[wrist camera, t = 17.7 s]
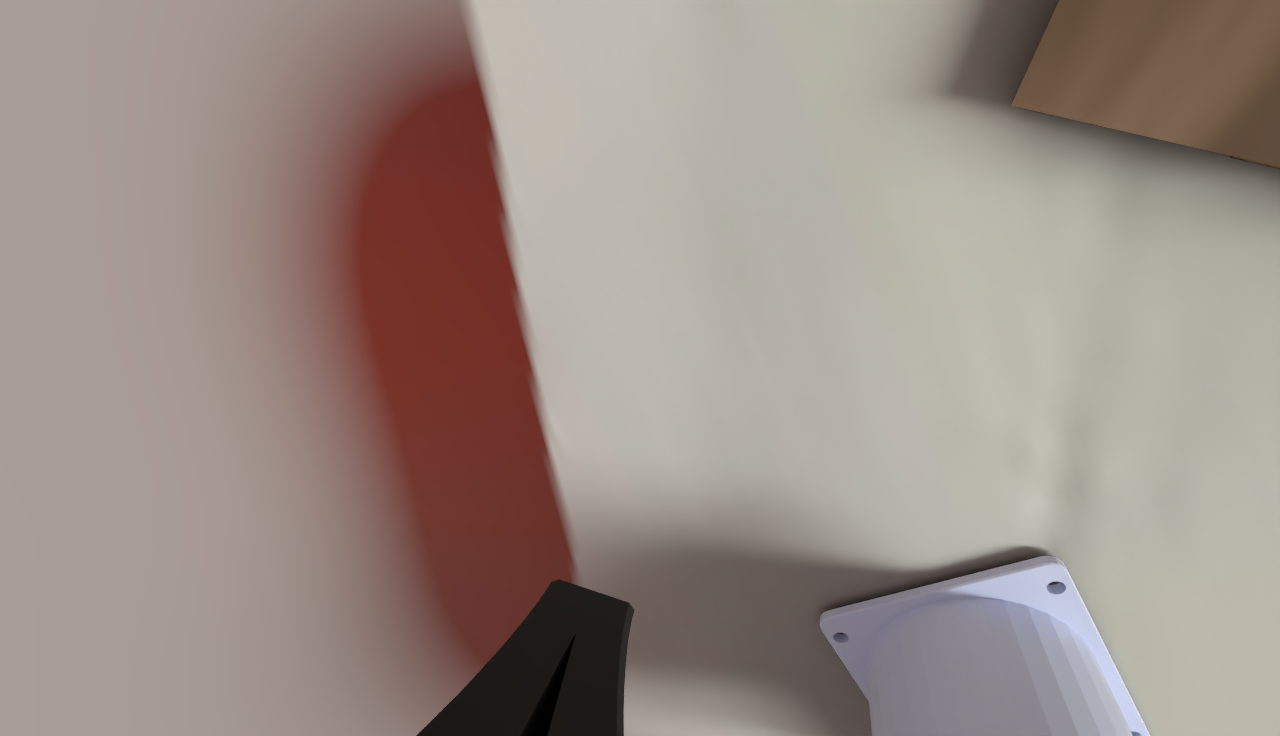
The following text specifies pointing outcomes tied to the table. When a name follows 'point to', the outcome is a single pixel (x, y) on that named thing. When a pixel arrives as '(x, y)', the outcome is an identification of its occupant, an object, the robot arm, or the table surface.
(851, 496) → the table surface
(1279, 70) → the domino
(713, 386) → the table surface
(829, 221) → the table surface
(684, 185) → the table surface
